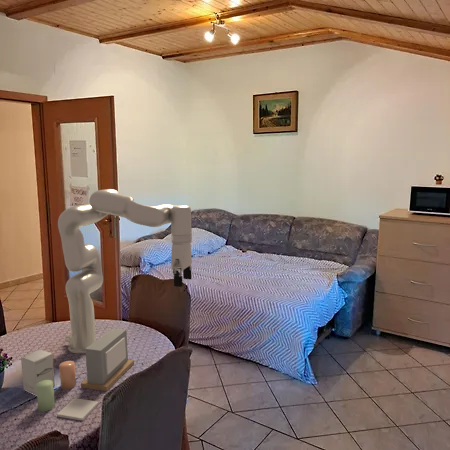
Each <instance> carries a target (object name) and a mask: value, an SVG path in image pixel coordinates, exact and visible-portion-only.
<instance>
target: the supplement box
mask: <svg viewBox="0 0 450 450" xmlns="http://www.w3.org/2000/svg"><path fill="white" fill-rule="evenodd" d="M53 358H54V357H53V353H51V352H49V351H46V350H43V349H41V348H39V349H36V350H34V351H32V352H30V353H28V354H25V355H23V356H21V358H20V363H21V373H22V384H23V390H24V389H25V390H27V391H29V392H31V393H33V394H35V395H37V392H36V384H37V383H38V382H40V381H43V380H52V381H53V386H55V387H56V383H55V372H54V371H55V370H54V369H55V368H54V359H53Z"/></svg>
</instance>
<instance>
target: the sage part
mask: <svg viewBox="0 0 450 450" xmlns="http://www.w3.org/2000/svg"><path fill="white" fill-rule="evenodd" d="M54 388H55V387H54ZM54 388H53V381H52V380H43V381H40V382H38V383H37V384H36V392H37V397H36V401H37V410H38V411H39V412H41V411H42V412H41V413H45V412H44V411H46V412H49V411H52V410H53V409H54V408H55V406H56V403H55V389H54ZM48 410H49V411H48Z"/></svg>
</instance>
